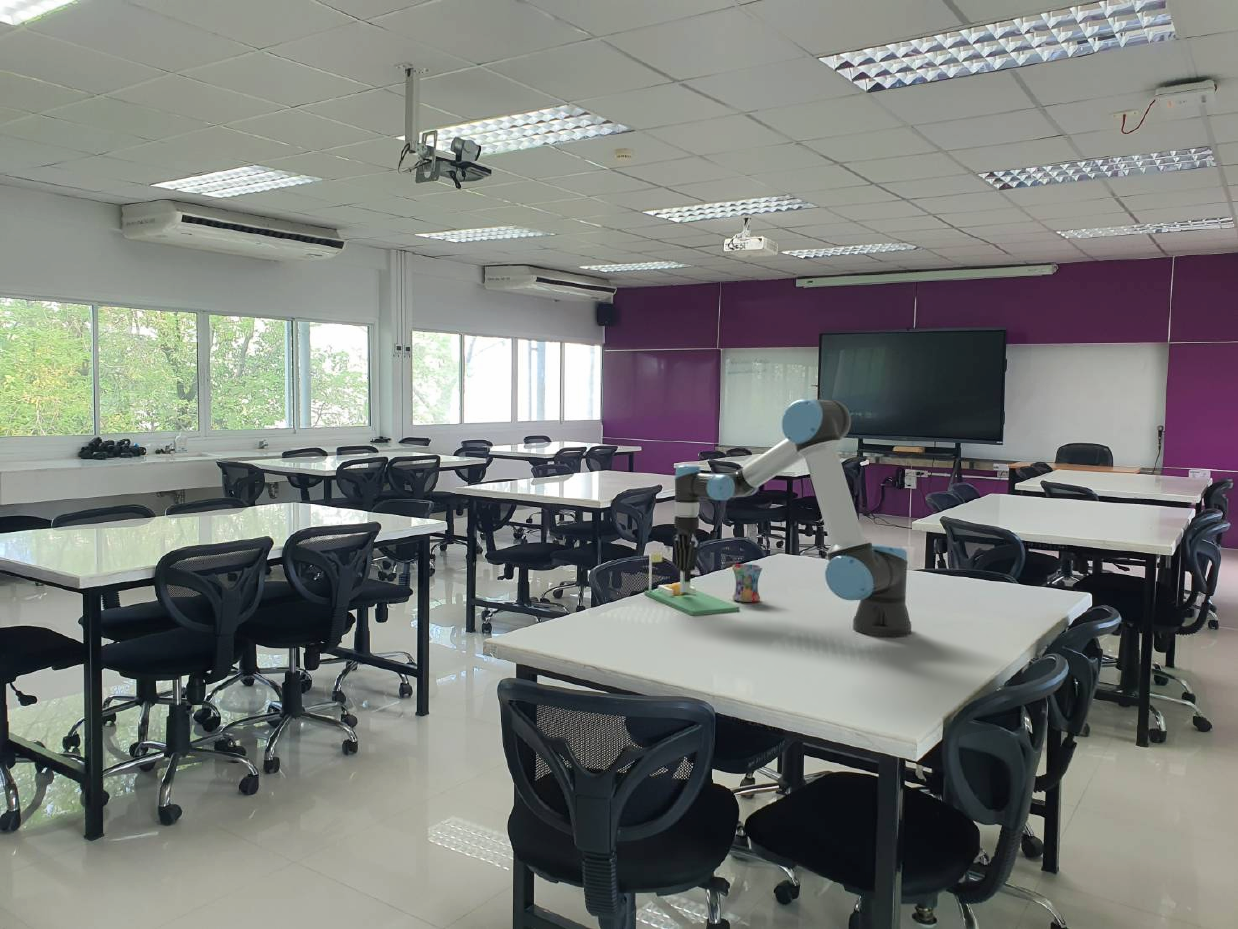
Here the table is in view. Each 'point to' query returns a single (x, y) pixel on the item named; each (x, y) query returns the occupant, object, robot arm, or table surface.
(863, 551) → the robot arm
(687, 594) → the green
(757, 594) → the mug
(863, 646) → the table surface
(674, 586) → the ball
